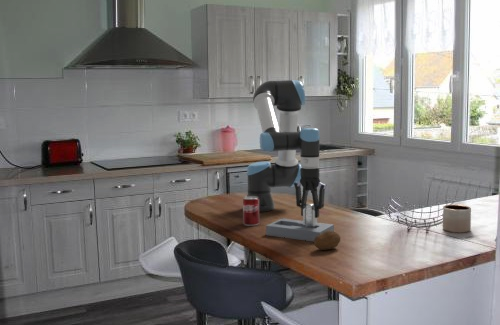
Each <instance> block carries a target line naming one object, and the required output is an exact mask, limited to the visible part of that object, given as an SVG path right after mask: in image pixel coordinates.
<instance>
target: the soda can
mask: <svg viewBox="0 0 500 325" xmlns="http://www.w3.org/2000/svg"><path fill="white" fill-rule="evenodd" d="M260 219H261V218H260V212H259V198H258V197H255V196H248V197H247V196H244V197H243V198H242V223H243V225H244V226H246V227H247V226H248V227H255V226H258V225H260V222H261V221H260Z"/></svg>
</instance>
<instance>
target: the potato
mask: <svg viewBox="0 0 500 325" xmlns="http://www.w3.org/2000/svg"><path fill="white" fill-rule="evenodd" d="M340 242H341V235H340V234H339V233H337V232H336V231H335V230H334V231H325V232H323V233H322V234H320V235H318V236H317V237H315V239H314V242H313V244H314V246H315V248H317V249H318V250H320V251H326V250H333V249H334V248H336V247H338V245H339V244H340Z"/></svg>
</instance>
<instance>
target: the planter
mask: <svg viewBox="0 0 500 325" xmlns="http://www.w3.org/2000/svg"><path fill="white" fill-rule="evenodd" d="M471 220H472V207H471V206H467V205H463V204H446V205H443V208H442V229H443V230H444V231H446V232H448V233H452V234H453V233H454V234H456V233H457V234H464V233H469V232H471V229H472V228H471V227H472V226H471V225H472V221H471Z"/></svg>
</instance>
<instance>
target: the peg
mask: <svg viewBox="0 0 500 325" xmlns="http://www.w3.org/2000/svg"><path fill="white" fill-rule="evenodd" d="M313 210H314V204H313V203H306V204H305V222H306V227H307V228H314V226H313Z"/></svg>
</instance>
